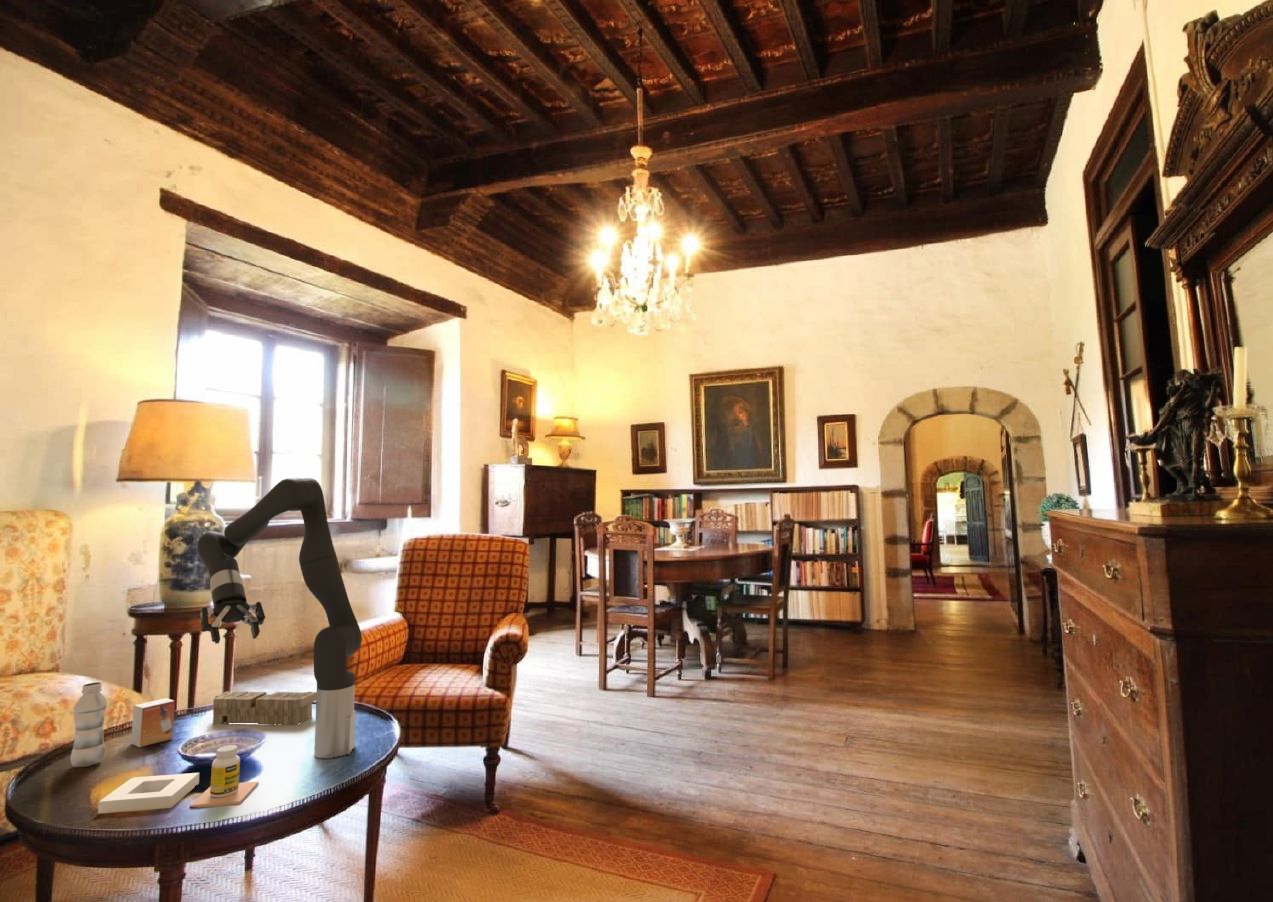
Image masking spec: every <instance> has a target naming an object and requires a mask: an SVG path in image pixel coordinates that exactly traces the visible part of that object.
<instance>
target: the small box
mask: <svg viewBox="0 0 1273 902" xmlns="http://www.w3.org/2000/svg"><path fill="white" fill-rule="evenodd" d="M175 703H176V702H175V700H173V699H170V698H167V697H164V698H161V699H157V700H152V701H148V702H143V703H138V704H133V710H132V711H133V712H132V723H131V725H132V726H131V736H130V737H131V738H130V739H131V740H130V744H131V745H133V746H136V747H138V748H142V747H145V746H150V745H153V744H157V743H161V742H166V741H170V740H173V737H174V736H173V735H174V722H175V720H174V719H175ZM169 739H170V740H169Z"/></svg>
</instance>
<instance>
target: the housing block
mask: <svg viewBox="0 0 1273 902" xmlns="http://www.w3.org/2000/svg"><path fill="white" fill-rule="evenodd" d="M199 784H200V772H191V773H176V774H162V775H150V776H149V775H147V776H135V777H131V778H130V779H128V780H126V782H124V783H123V784H121V785H120V786H119V787H117V788H115V789H114V790H113V791H112V792H110V793H109V794H107V795H106V796H104V797H103V798H102V799H100V800H99V801H98V812H97V814H98V815H99V814H111V813H123V812H135V811H137V812H138V811H148V810H149V811H150V810H160V809H162V810H163V809H171V808H173V807H174V806H175V805H176V804H177V803H178V802H180V801H181V800H182V799H183V798H184V797H185V796H186V795H188V794H189V793H190V792H191V791H192V790H193V789H195V786H196V785H197V786H198V785H199ZM197 786H196V787H197Z"/></svg>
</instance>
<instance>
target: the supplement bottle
mask: <svg viewBox="0 0 1273 902" xmlns="http://www.w3.org/2000/svg"><path fill="white" fill-rule="evenodd" d="M215 753H216V755H215V757H216V758H215V759H214V760H213V761H212V763H211V770H210V771H211V773H210V775H211V776H210V786H211V787H210V786H209V787H210V795H211V796H212V797H226V796H229V795H231V794H234V793H235V792H236V791H237V790H238V786H239V783H240V782H239V781H240V769H241V766H240V765H241V758H240V756H239V755H238V754H237V753H238V745H235V744H229V745H224V746H221V747H218V748H217V749H216V752H215Z"/></svg>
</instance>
